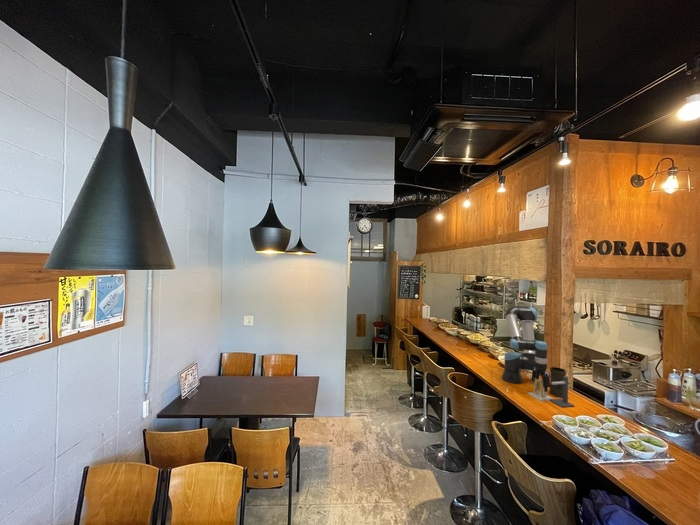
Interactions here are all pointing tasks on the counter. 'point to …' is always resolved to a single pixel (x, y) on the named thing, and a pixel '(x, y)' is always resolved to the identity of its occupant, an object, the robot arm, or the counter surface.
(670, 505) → the counter surface
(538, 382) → the link
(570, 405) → the stand
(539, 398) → the plate
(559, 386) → the beer stein
